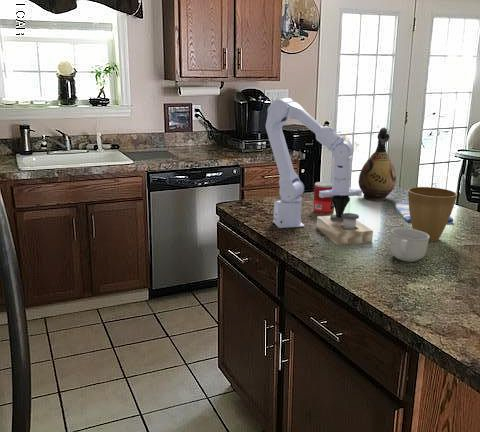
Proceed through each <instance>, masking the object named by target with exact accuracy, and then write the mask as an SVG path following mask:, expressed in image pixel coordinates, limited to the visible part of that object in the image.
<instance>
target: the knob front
mask: <svg viewBox="0 0 480 432" xmlns="http://www.w3.org/2000/svg"><path fill="white" fill-rule="evenodd" d="M341 217H342V218H344V219H343V229H344V230H352V229H355V228H356V220H358V219H359V218H360V216H359V214H357V213H353V212H345V213H344V212H343V214H341Z"/></svg>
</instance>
